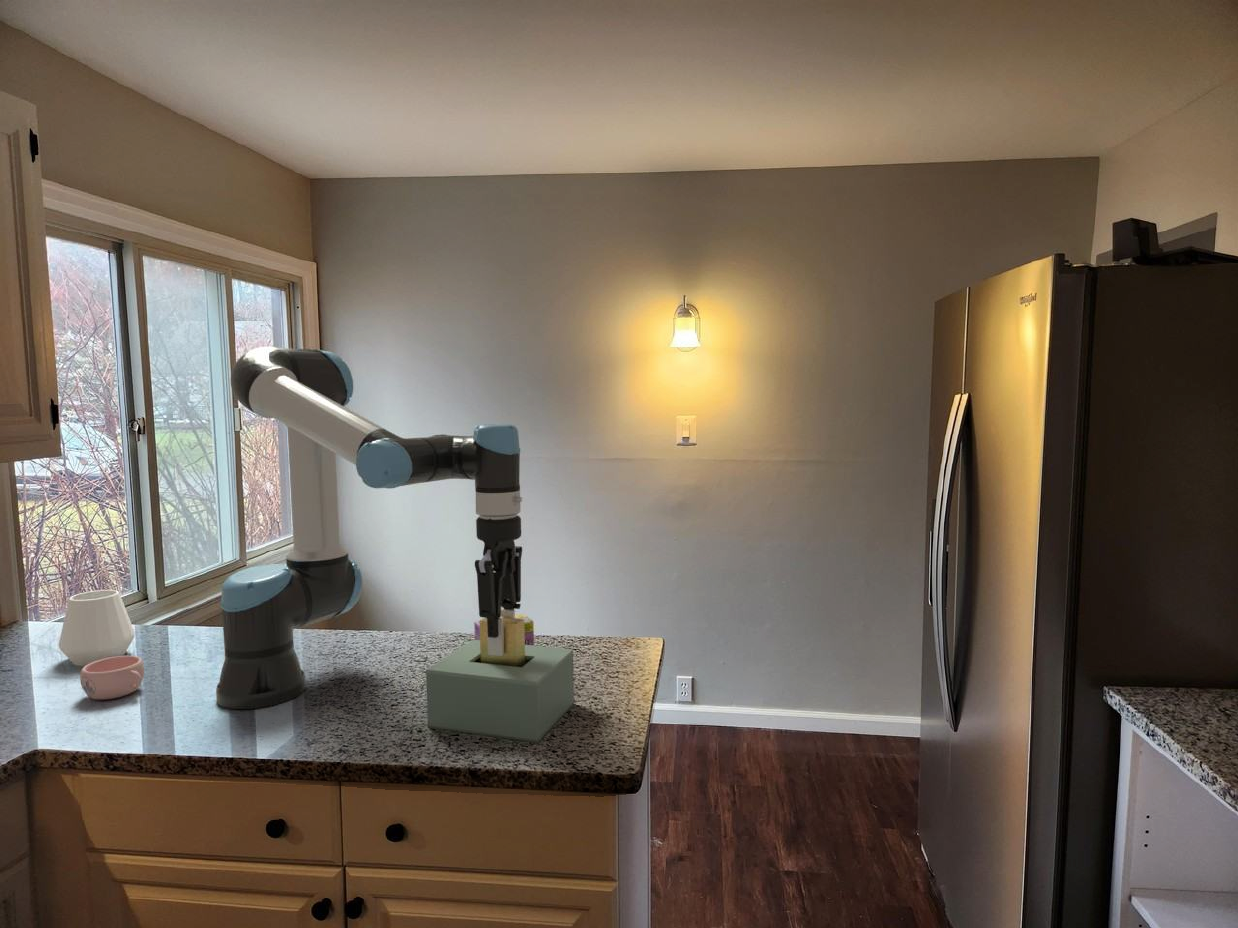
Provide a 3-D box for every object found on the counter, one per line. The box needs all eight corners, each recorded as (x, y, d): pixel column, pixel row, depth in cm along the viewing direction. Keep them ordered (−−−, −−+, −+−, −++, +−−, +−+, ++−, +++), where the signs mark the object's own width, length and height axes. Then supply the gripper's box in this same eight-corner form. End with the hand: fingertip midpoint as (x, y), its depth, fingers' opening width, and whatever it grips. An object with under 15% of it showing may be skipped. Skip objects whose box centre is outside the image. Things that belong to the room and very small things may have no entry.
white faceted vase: (148, 654, 163) (143, 591, 162) (77, 673, 152) (72, 606, 150) (118, 644, 170) (113, 584, 169) (48, 661, 159) (43, 597, 158)
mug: (68, 701, 138) (66, 669, 137) (120, 681, 147) (118, 652, 147) (116, 709, 134) (113, 677, 133) (165, 688, 143) (163, 658, 143)
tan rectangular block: (480, 666, 129) (479, 620, 128) (489, 660, 131) (488, 615, 131) (517, 670, 126) (515, 624, 126) (525, 664, 129) (524, 619, 128)
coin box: (427, 727, 125) (425, 669, 124) (474, 691, 140) (472, 639, 139) (537, 742, 119) (536, 682, 118) (574, 703, 134) (573, 649, 133)
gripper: (495, 524, 118) (499, 669, 120) (538, 509, 133) (541, 637, 135) (453, 522, 120) (457, 664, 122) (500, 507, 136) (503, 633, 138)
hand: (501, 649), depth 129 cm, fingers open, 4 cm apart
